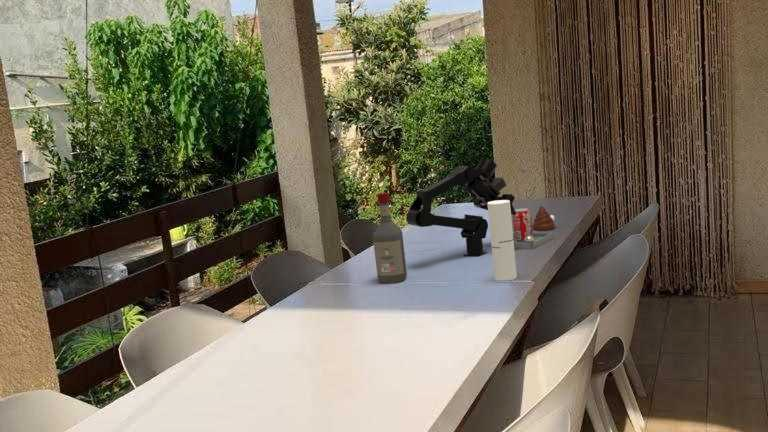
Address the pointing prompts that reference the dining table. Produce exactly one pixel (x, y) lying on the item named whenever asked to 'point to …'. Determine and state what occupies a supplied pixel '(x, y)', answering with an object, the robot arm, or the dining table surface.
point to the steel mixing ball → (529, 239)
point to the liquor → (388, 246)
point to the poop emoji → (543, 220)
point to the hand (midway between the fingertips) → (507, 213)
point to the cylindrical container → (502, 240)
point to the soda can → (522, 224)
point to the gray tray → (538, 240)
